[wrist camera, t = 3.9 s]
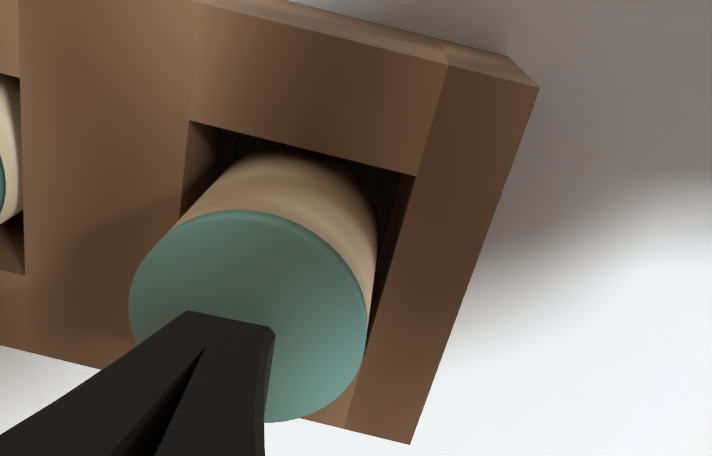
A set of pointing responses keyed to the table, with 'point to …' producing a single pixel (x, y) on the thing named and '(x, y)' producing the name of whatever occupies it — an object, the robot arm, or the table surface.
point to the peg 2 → (274, 269)
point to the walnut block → (215, 154)
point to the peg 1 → (10, 148)
